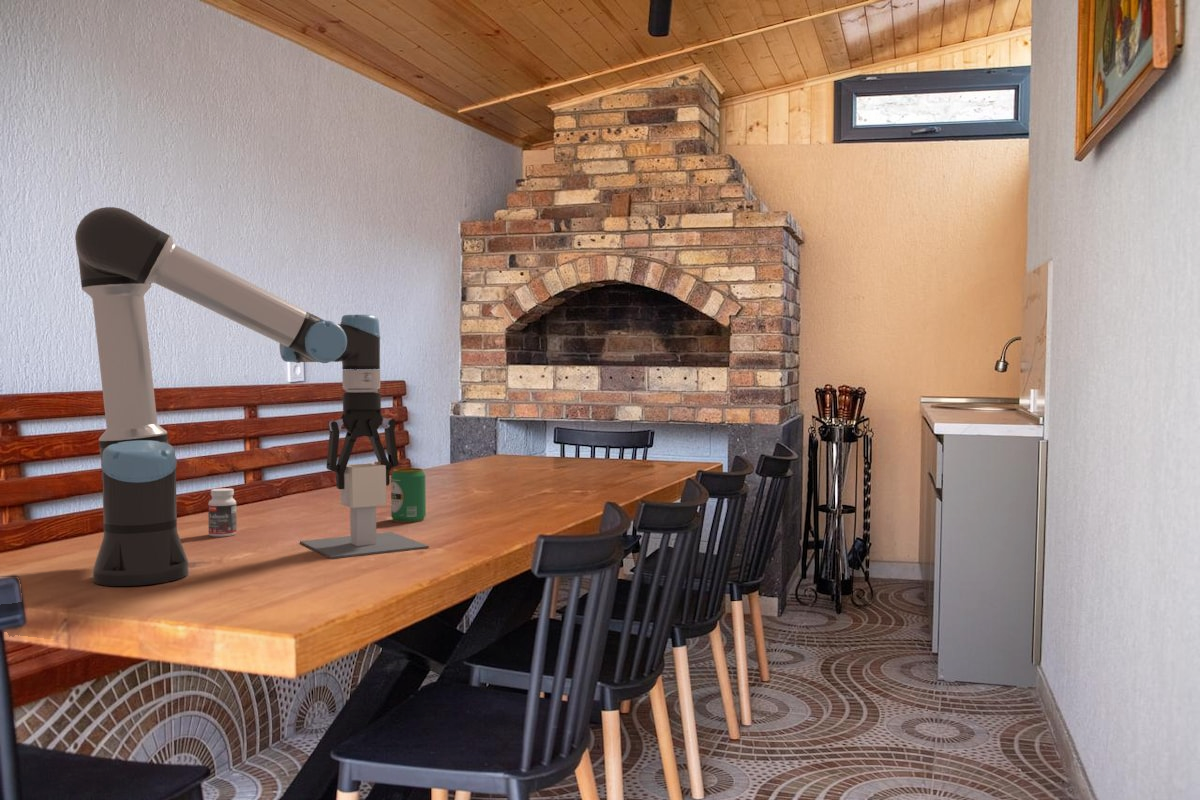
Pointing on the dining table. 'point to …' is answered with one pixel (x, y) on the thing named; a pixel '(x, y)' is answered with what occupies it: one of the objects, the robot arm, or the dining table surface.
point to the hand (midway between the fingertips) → (363, 503)
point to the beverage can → (408, 495)
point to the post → (363, 538)
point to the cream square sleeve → (366, 484)
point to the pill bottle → (222, 513)
